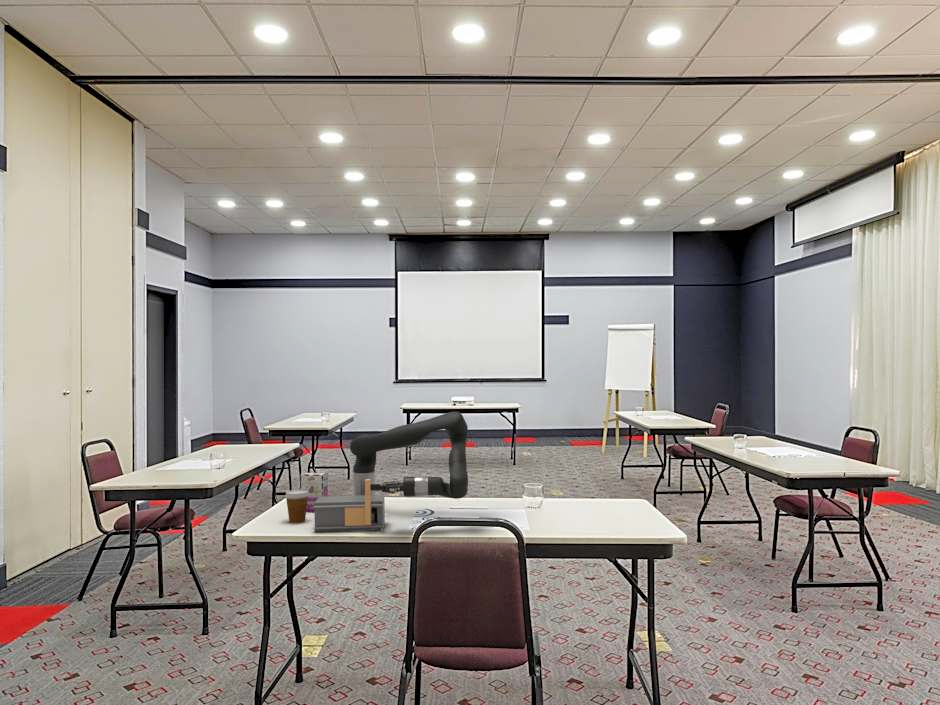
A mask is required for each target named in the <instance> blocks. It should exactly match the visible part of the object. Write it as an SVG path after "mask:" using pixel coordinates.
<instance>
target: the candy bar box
mask: <svg viewBox="0 0 940 705" xmlns="http://www.w3.org/2000/svg"><path fill="white" fill-rule="evenodd" d="M328 474H329V473H324V472H304V473H301V474H300V490H307V491H308V494H309V495H308V500H307V509H306V513H314V503H315V502H316V500H317V499H318V498H319V497H323V496H329V481H328V480H329V475H328Z"/></svg>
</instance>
